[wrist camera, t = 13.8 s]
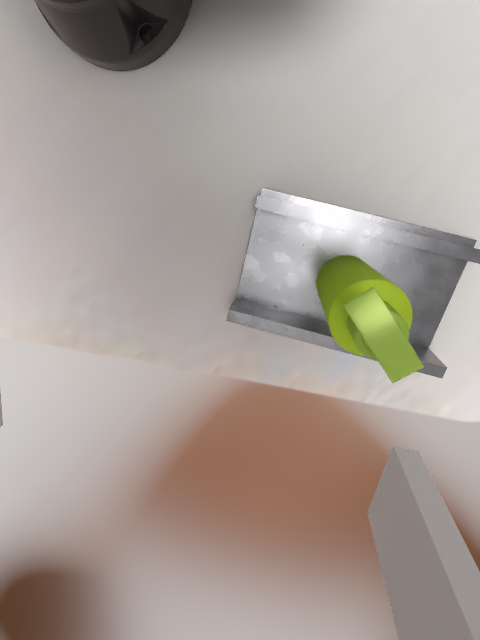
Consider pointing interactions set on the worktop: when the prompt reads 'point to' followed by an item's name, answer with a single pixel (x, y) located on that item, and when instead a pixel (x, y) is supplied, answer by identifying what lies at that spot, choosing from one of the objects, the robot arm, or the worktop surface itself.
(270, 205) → the track
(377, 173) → the worktop surface
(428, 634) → the robot arm
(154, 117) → the worktop surface
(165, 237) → the worktop surface
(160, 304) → the worktop surface
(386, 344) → the soap dispenser
